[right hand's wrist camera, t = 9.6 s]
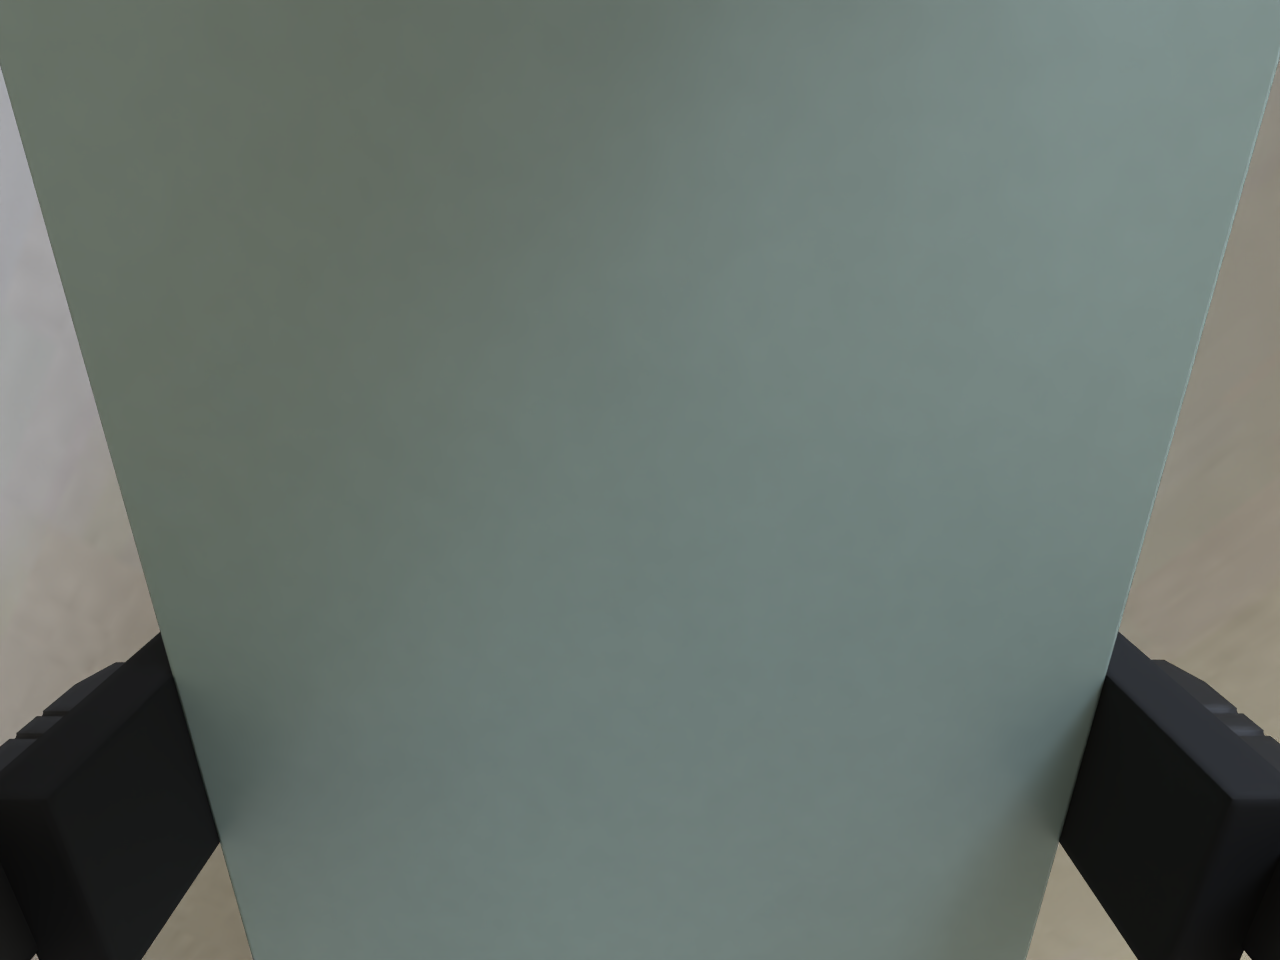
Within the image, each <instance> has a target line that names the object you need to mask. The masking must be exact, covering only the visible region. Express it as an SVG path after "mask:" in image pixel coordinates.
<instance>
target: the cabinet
mask: <svg viewBox="0 0 1280 960" xmlns="http://www.w3.org/2000/svg"><path fill="white" fill-rule="evenodd" d="M1279 58H1280V0H0V66H1V69H2V73H3V76H4V80H5V84H6V87H7V91H8V94H9V98H10V101H11V105H12V108H13V112H14V115H15V119H16V122H17V126H18V130H19V133H20V137H21V140H22V144H23V147H24V151H25V154H26V158H27V161H28V165H29V168H30V172H31V176H32V179H33V183H34V186H35V190H36V193H37V197H38V200H39V204H40V207H41V211H42V214H43V218H44V221H45V225H46V229H47V232H48V236H49V239H50V243H51V246H52V250H53V253H54V257H55V260H56V264H57V267H58V271H59V275H60V278H61V282H62V285H63V289H64V292H65V296H66V299H67V303H68V306H69V310H70V313H71V317H72V321H73V324H74V328H75V331H76V335H77V338H78V342H79V345H80V349H81V352H82V356H83V359H84V363H85V366H86V370H87V374H88V377H89V381H90V384H91V388H92V391H93V395H94V398H95V402H96V405H97V409H98V412H99V416H100V420H101V423H102V427H103V430H104V434H105V437H106V441H107V444H108V448H109V451H110V455H111V458H112V462H113V466H114V469H115V473H116V476H117V480H118V483H119V487H120V490H121V494H122V497H123V501H124V504H125V508H126V511H127V515H128V519H129V522H130V526H131V529H132V533H133V536H134V540H135V543H136V547H137V550H138V554H139V557H140V561H141V565H142V568H143V572H144V575H145V579H146V582H147V586H148V589H149V593H150V596H151V600H152V603H153V607H154V611H155V614H156V618H157V621H158V625H159V628H160V632H161V635H162V639H163V642H164V646H165V649H166V653H167V656H168V660H169V664H170V667H171V671H172V674H173V678H174V681H175V685H176V688H177V692H178V695H179V699H180V702H181V706H182V710H183V713H184V717H185V720H186V724H187V727H188V731H189V734H190V738H191V741H192V745H193V748H194V752H195V756H196V759H197V763H198V766H199V770H200V773H201V777H202V780H203V784H204V787H205V791H206V794H207V798H208V801H209V805H210V809H211V812H212V816H213V819H214V823H215V826H216V830H217V833H218V837H219V840H220V844H221V847H222V851H223V855H224V858H225V862H226V865H227V869H228V872H229V876H230V879H231V883H232V886H233V890H234V893H235V897H236V901H237V904H238V908H239V911H240V915H241V918H242V922H243V925H244V929H245V932H246V936H247V939H248V943H249V946H250V950H251V954H252V957H253V960H1026V957H1027V953H1028V950H1029V946H1030V943H1031V939H1032V936H1033V932H1034V929H1035V925H1036V921H1037V918H1038V914H1039V911H1040V907H1041V904H1042V900H1043V897H1044V893H1045V889H1046V886H1047V882H1048V879H1049V875H1050V872H1051V868H1052V865H1053V861H1054V857H1055V854H1056V850H1057V847H1058V843H1059V840H1060V836H1061V833H1062V829H1063V825H1064V822H1065V818H1066V815H1067V811H1068V808H1069V804H1070V801H1071V797H1072V793H1073V790H1074V786H1075V783H1076V779H1077V776H1078V772H1079V769H1080V765H1081V762H1082V758H1083V754H1084V751H1085V747H1086V744H1087V740H1088V737H1089V733H1090V730H1091V726H1092V722H1093V719H1094V715H1095V712H1096V708H1097V705H1098V701H1099V698H1100V694H1101V690H1102V687H1103V683H1104V680H1105V676H1106V673H1107V669H1108V666H1109V662H1110V658H1111V655H1112V651H1113V648H1114V644H1115V641H1116V637H1117V634H1118V630H1119V626H1120V623H1121V619H1122V616H1123V612H1124V609H1125V605H1126V602H1127V598H1128V594H1129V591H1130V587H1131V584H1132V580H1133V577H1134V573H1135V570H1136V566H1137V562H1138V559H1139V555H1140V552H1141V548H1142V545H1143V541H1144V538H1145V534H1146V530H1147V527H1148V523H1149V520H1150V516H1151V513H1152V509H1153V506H1154V502H1155V499H1156V495H1157V491H1158V488H1159V484H1160V481H1161V477H1162V474H1163V470H1164V467H1165V463H1166V459H1167V456H1168V452H1169V449H1170V445H1171V442H1172V438H1173V435H1174V431H1175V427H1176V424H1177V420H1178V417H1179V413H1180V410H1181V406H1182V403H1183V399H1184V395H1185V392H1186V388H1187V385H1188V381H1189V378H1190V374H1191V371H1192V367H1193V363H1194V360H1195V356H1196V353H1197V349H1198V346H1199V342H1200V339H1201V335H1202V331H1203V328H1204V324H1205V321H1206V317H1207V314H1208V310H1209V307H1210V303H1211V299H1212V296H1213V292H1214V289H1215V285H1216V282H1217V278H1218V275H1219V271H1220V267H1221V264H1222V260H1223V257H1224V253H1225V250H1226V246H1227V243H1228V239H1229V236H1230V232H1231V228H1232V225H1233V221H1234V218H1235V214H1236V211H1237V207H1238V204H1239V200H1240V196H1241V193H1242V189H1243V186H1244V182H1245V179H1246V175H1247V172H1248V168H1249V164H1250V161H1251V157H1252V154H1253V150H1254V147H1255V143H1256V140H1257V136H1258V132H1259V129H1260V125H1261V122H1262V118H1263V115H1264V111H1265V108H1266V104H1267V100H1268V97H1269V93H1270V90H1271V86H1272V83H1273V79H1274V76H1275V72H1276V68H1277V65H1278V61H1279Z"/></svg>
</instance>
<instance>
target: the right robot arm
mask: <svg viewBox="0 0 1280 960" xmlns="http://www.w3.org/2000/svg"><path fill="white" fill-rule="evenodd" d="M16 734H17V736H16V738H15V739H9V740H8V741H7V742H5V743H4V744H3V745H2V746H1V747H0V960H31V959H32V957H33V956H34V955H35V954H37V956H38V958H39V960H141V959H142V958H143V956H144V955H145V953H146V952H147V950H148V949H149V947H150V946H151V944H152V943H153V941H154V940H155V938H156V937H157V935H158V934H159V932H160V931H161V929H162V928H163V926H164V925H165V923H166V922H167V920H168V919H169V917H170V916H171V914H172V913H173V911H174V910H175V908H176V907H177V905H178V904H179V902H180V901H181V899H182V898H183V896H184V895H185V893H186V892H187V890H188V889H189V887H190V886H191V884H192V883H193V881H194V880H195V878H196V877H197V875H198V874H199V872H200V871H201V869H202V868H203V866H204V865H205V863H206V862H207V861H208V859H209V858H210V856H211V855H212V853H213V852H214V850H215V849H216V847H217V846H218V844H219V843H220V840H219V837H218V833H217V830H216V826H215V823H214V819H213V816H212V812H211V809H210V805H209V801H208V798H207V794H206V791H205V787H204V784H203V780H202V777H201V773H200V770H199V766H198V763H197V759H196V756H195V752H194V748H193V745H192V741H191V738H190V734H189V731H188V727H187V724H186V720H185V717H184V713H183V710H182V706H181V702H180V699H179V695H178V692H177V688H176V685H175V681H174V678H173V674H172V671H171V667H170V664H169V660H168V656H167V653H166V649H165V646H164V642H163V639H162V635H161V632H160V633H159V634H157V635H156V636H155V637H154V638H153V639H152V640H150V641H149V642H148V643H147V644H146V645H145V646H144V647H142V648H141V649H140V650H139V651H138V652H137V653H136V654H134V655H133V656H132V657H131V658H130V659H129V660H127V661H126V662H116V663H114V664H112V665H110V666H108V667H107V668H105V669H103V670H101V671H99V672H97V673H95V674H94V675H92V676H90V677H88V678H86V679H84V680H83V681H81V682H79V683H77V684H75V685H74V686H73V687H72V688H70V689H69V690H68V691H67V692H66V693H64V694H63V695H62V696H61V697H59V698H58V699H57V700H56V701H55V702H53V703H52V704H51V705H50V706H49V707H47V708H46V709H45V710H44V711H43V715H42V716H37V717H35V718H34V719H33V720H32V721H31V722H29V723H28V724H27V725H26V726H25V727H23V728H22V729H21V730H20V731H19V732H17V733H16ZM1059 842H1060V844H1061V845H1062V847H1063V848H1064V850H1065V851H1066V853H1067V854H1068V856H1069V857H1070V859H1071V860H1072V862H1073V863H1074V865H1075V866H1076V868H1077V869H1078V871H1079V872H1080V874H1081V875H1082V877H1083V878H1084V880H1085V881H1086V883H1087V884H1088V886H1089V887H1090V889H1091V890H1092V892H1093V893H1094V895H1095V896H1096V898H1097V899H1098V901H1099V902H1100V904H1101V905H1102V906H1103V908H1104V909H1105V911H1106V912H1107V914H1108V915H1109V917H1110V918H1111V920H1112V921H1113V923H1114V924H1115V926H1116V927H1117V929H1118V930H1119V932H1120V933H1121V935H1122V936H1123V938H1124V939H1125V941H1126V942H1127V944H1128V945H1129V947H1130V948H1131V950H1132V951H1133V953H1134V954H1135V956H1136V957H1137V959H1138V960H1240V958H1241V956H1242V953H1243V951H1245V952H1246V953H1247V954H1248V956H1249V957H1250V958H1251V959H1252V960H1280V744H1279V743H1278V742H1277V741H1276V740H1274V739H1273V738H1272V737H1271V736H1265V735H1264V733H1263V730H1262V729H1261V728H1260V727H1259V726H1258V725H1256V724H1255V723H1254V722H1253V721H1251V720H1250V719H1249V718H1248V717H1247V716H1245V715H1244V714H1238V713H1237V708H1236V707H1235V706H1233V705H1232V704H1231V703H1230V702H1228V701H1227V700H1226V699H1225V698H1224V697H1222V696H1221V695H1220V694H1219V693H1218V692H1216V691H1215V690H1214V689H1213V688H1212V687H1210V686H1209V685H1208V684H1207V683H1205V682H1204V681H1202V680H1200V679H1198V678H1197V677H1195V676H1193V675H1191V674H1189V673H1187V672H1185V671H1184V670H1182V669H1180V668H1178V667H1176V666H1174V665H1172V664H1171V663H1169V662H1167V661H1165V660H1151V659H1149V658H1148V657H1147V656H1146V655H1145V654H1144V653H1142V652H1141V651H1140V650H1139V649H1138V648H1137V647H1136V646H1134V645H1133V644H1132V643H1131V642H1130V641H1129V640H1128V639H1126V638H1125V637H1124V636H1123V635H1122V634H1121V633H1119V632H1118V634H1117V637H1116V641H1115V644H1114V648H1113V651H1112V655H1111V658H1110V662H1109V666H1108V669H1107V673H1106V676H1105V680H1104V683H1103V687H1102V690H1101V694H1100V698H1099V701H1098V705H1097V708H1096V712H1095V715H1094V719H1093V722H1092V726H1091V730H1090V733H1089V737H1088V740H1087V744H1086V747H1085V751H1084V754H1083V758H1082V762H1081V765H1080V769H1079V772H1078V776H1077V779H1076V783H1075V786H1074V790H1073V793H1072V797H1071V801H1070V804H1069V808H1068V811H1067V815H1066V818H1065V822H1064V825H1063V829H1062V833H1061V836H1060V840H1059Z"/></svg>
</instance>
